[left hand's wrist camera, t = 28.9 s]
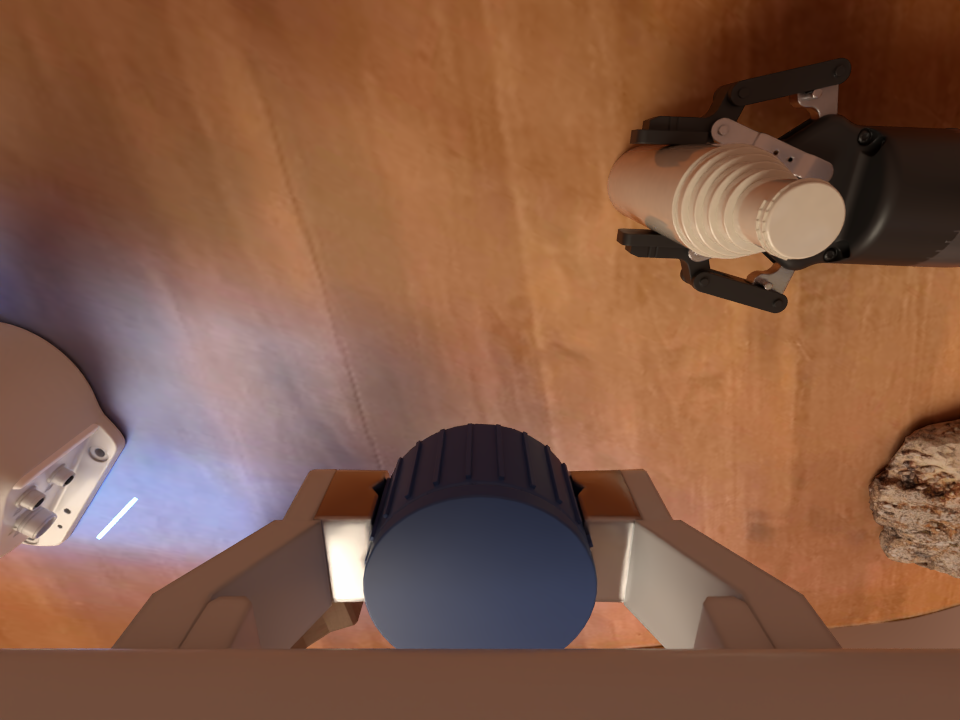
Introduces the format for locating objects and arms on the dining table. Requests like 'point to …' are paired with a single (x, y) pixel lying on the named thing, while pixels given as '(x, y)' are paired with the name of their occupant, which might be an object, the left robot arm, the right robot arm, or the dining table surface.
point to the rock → (922, 500)
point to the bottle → (726, 200)
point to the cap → (479, 546)
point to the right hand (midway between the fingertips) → (627, 189)
